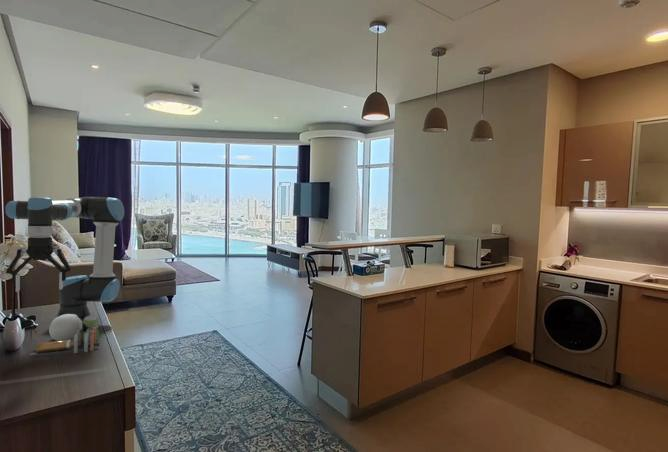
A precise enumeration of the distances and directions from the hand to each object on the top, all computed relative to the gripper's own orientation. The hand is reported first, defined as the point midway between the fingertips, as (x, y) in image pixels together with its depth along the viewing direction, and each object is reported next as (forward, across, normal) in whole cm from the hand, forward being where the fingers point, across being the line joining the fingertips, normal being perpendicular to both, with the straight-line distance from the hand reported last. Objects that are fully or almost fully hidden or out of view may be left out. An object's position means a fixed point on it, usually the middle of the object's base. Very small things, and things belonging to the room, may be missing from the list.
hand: (39, 290), depth 148 cm
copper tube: (+26, +5, +1) cm, 26 cm away
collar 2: (+27, +16, 0) cm, 31 cm away
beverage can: (+27, +16, +9) cm, 33 cm away
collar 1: (+27, +13, 0) cm, 30 cm away
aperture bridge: (+27, +18, 0) cm, 32 cm away
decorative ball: (+27, +7, +16) cm, 32 cm away
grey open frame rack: (+27, +9, 0) cm, 28 cm away
